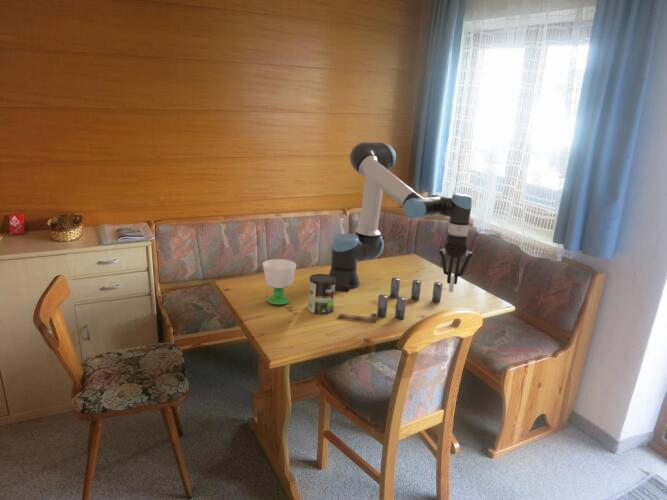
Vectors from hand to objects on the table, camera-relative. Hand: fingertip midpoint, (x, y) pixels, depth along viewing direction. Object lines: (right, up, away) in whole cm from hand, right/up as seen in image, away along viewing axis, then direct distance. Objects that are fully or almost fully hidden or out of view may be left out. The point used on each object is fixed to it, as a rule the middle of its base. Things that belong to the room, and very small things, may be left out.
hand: (450, 291), depth 195 cm
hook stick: (-38, -10, -8) cm, 40 cm away
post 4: (-12, -5, +15) cm, 20 cm away
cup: (-70, -5, +6) cm, 70 cm away
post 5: (-3, -6, +14) cm, 16 cm away
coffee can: (-52, -8, -3) cm, 53 cm away
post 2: (-21, -5, +16) cm, 27 cm away
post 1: (-28, -10, -5) cm, 31 cm away
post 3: (-22, -11, -6) cm, 25 cm away
